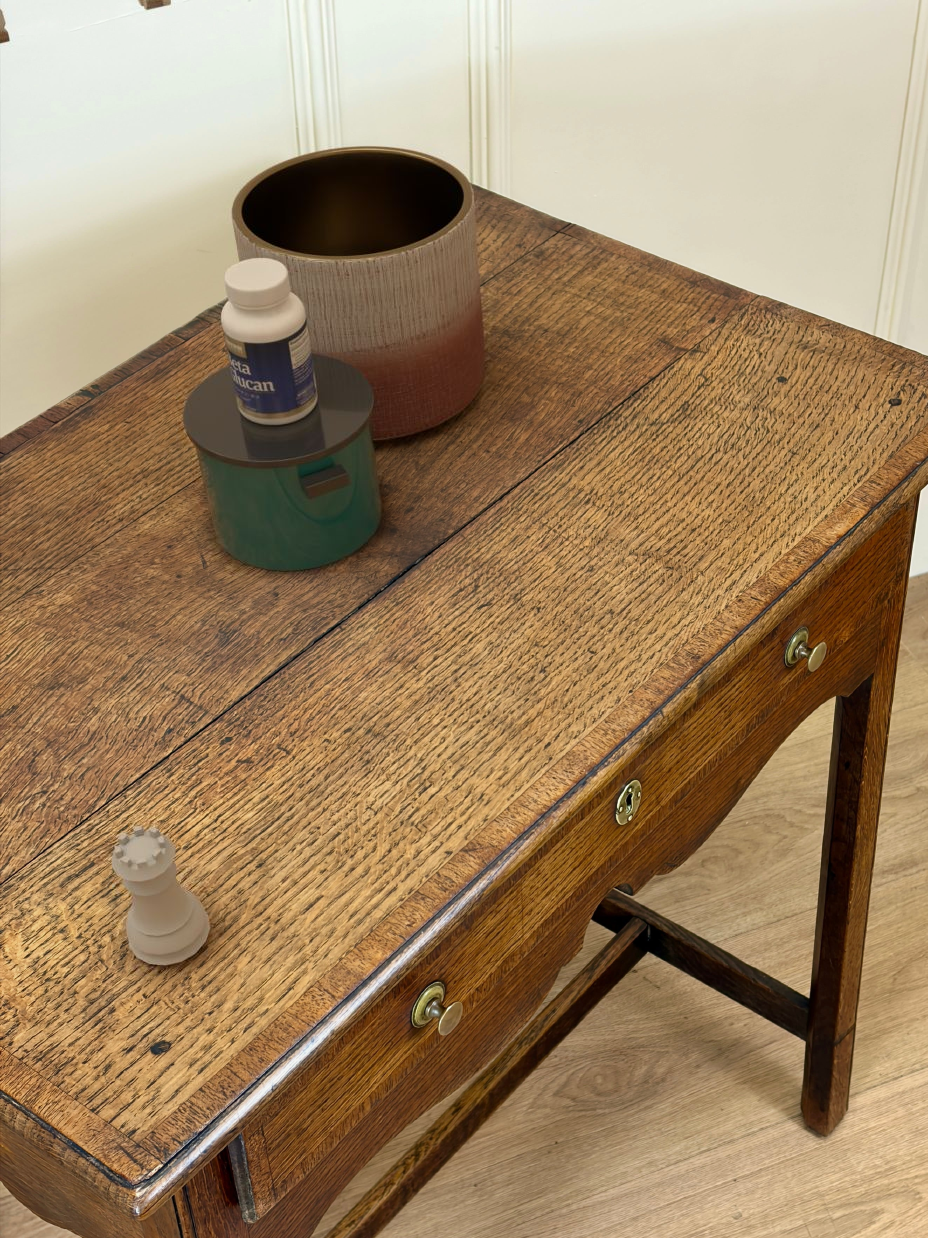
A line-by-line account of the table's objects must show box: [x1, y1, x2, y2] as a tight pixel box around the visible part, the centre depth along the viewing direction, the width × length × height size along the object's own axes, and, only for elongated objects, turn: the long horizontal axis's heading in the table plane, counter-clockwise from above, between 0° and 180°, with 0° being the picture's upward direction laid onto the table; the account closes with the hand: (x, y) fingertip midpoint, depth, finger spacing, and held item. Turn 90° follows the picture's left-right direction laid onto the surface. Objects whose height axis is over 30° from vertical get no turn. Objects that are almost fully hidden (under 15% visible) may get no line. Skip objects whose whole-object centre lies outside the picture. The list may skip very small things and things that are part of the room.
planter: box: [231, 145, 486, 443], centre depth 112 cm, size 18×18×16 cm
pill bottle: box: [220, 258, 317, 425], centre depth 96 cm, size 5×5×10 cm
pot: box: [182, 354, 383, 572], centre depth 103 cm, size 13×15×10 cm
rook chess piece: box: [110, 824, 211, 966], centre depth 78 cm, size 4×4×8 cm
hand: (76, 23), depth 84 cm, fingers open, 8 cm apart
